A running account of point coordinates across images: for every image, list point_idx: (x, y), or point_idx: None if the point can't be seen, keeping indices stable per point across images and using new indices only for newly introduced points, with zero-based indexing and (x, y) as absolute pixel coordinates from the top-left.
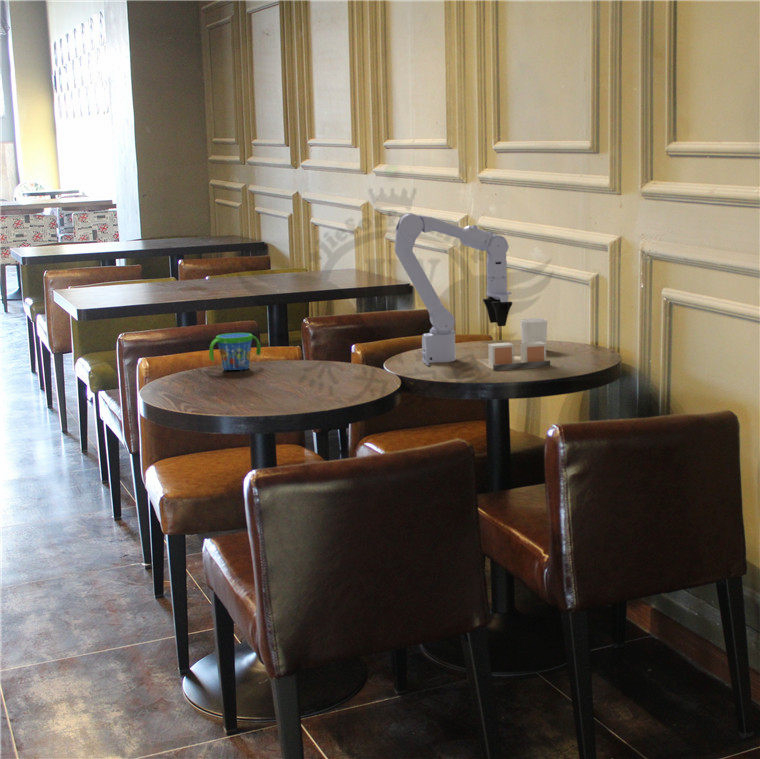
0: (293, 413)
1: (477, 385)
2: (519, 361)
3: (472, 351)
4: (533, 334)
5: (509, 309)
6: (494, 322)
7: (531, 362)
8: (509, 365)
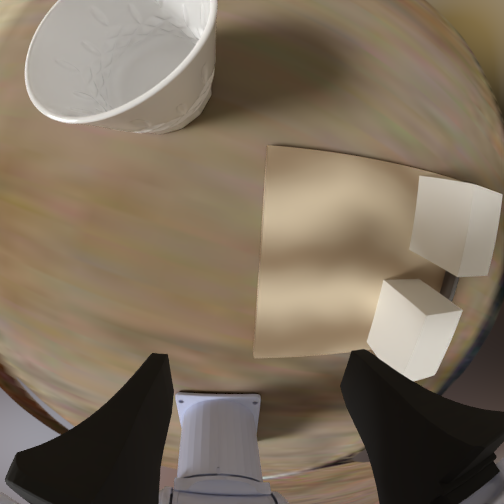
0: None
1: (463, 370)
2: (370, 235)
3: (56, 300)
4: (206, 76)
5: (462, 404)
6: (169, 372)
7: None
8: None
